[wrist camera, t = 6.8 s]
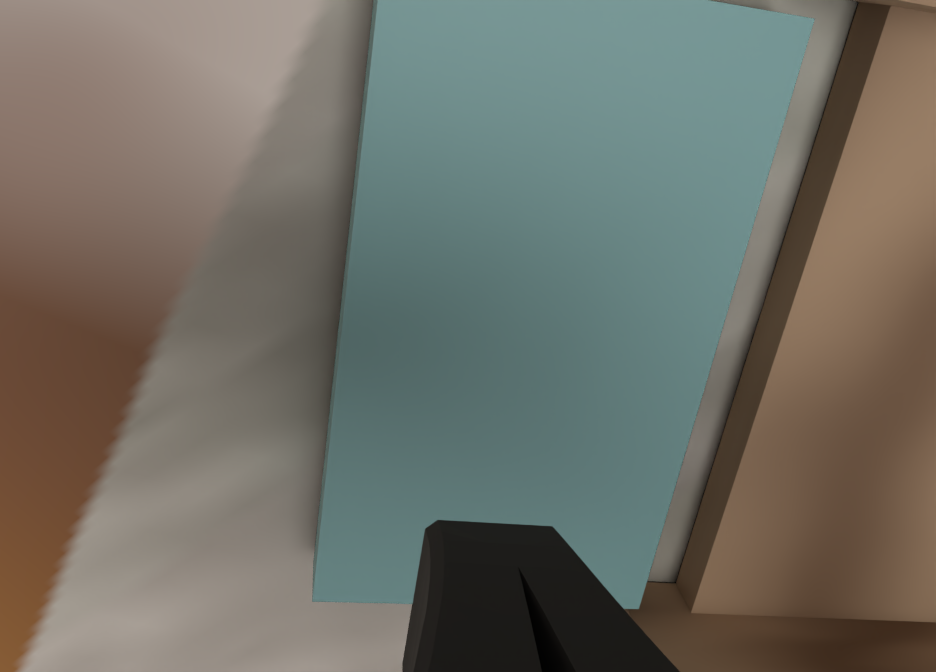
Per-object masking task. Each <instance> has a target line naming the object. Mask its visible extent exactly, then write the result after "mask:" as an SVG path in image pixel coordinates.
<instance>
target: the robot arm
mask: <svg viewBox="0 0 936 672" xmlns="http://www.w3.org/2000/svg"><path fill="white" fill-rule="evenodd" d="M403 672H680V671H679V670H678V669H677V668H676V667H675V666H674V665H673V663H672V662H671V661H670V660H669V659H668V658H667V657H666V656H665V655H664V654H663V653H662V651H661V650H660V649H659V648H658V647H657V646H656V645H655V644H654V643H653V641H652V640H651V639H650V638H649V637H648V636H647V635H646V634H645V633H644V631H643V630H642V629H641V628H640V627H639V626H638V625H637V624H636V622H635V621H634V620H633V619H632V618H631V617H630V616H629V614H628V613H627V612H626V611H625V610H624V609H623V608H622V606H621V605H620V604H619V603H618V602H617V601H616V599H615V598H614V597H613V596H612V595H611V594H610V592H609V591H608V590H607V589H606V588H605V587H604V586H603V584H602V583H601V582H600V581H599V580H598V578H597V577H596V576H595V575H594V574H593V573H592V571H591V570H590V569H589V568H588V567H587V566H586V564H585V563H584V562H583V561H582V560H581V558H580V557H579V556H578V555H577V554H576V553H575V551H574V550H573V549H572V548H571V547H570V546H569V544H568V543H567V542H566V541H565V540H564V539H563V537H562V536H561V535H560V534H559V533H558V532H557V531H556V530H555V528H554V527H553V526H539V525H521V524H504V523H486V522H468V521H450V520H437V521H435V522H434V523H432V524H431V525H430V526H428V527H427V528H425V532H424V538H423V544H422V550H421V556H420V562H419V568H418V574H417V580H416V586H415V592H414V598H413V604H412V610H411V616H410V622H409V628H408V634H407V640H406V646H405V652H404V658H403Z"/></svg>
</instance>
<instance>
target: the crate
mask: <svg viewBox="0 0 936 672" xmlns="http://www.w3.org/2000/svg"><path fill="white" fill-rule="evenodd" d="M851 1H857V2H859V3H858V7H857V10H856V13H855V16H854V19H853V22H852V26H851V29H850V32H849V35H848V38H847V41H846V45H845V48H844V51H843V54H842V57H841V61H840V64H839V67H838V70H837V73H836V76H835V80H834V83H833V86H832V89H831V92H830V95H829V99H828V102H827V105H826V108H825V111H824V115H823V118H822V121H821V124H820V127H819V130H818V134H817V137H816V140H815V143H814V146H813V149H812V153H811V156H810V159H809V162H808V165H807V168H806V172H805V175H804V178H803V181H802V184H801V188H800V191H799V194H798V197H797V200H796V203H795V207H794V210H793V213H792V216H791V219H790V222H789V226H788V229H787V232H786V235H785V238H784V242H783V245H782V248H781V251H780V254H779V257H778V261H777V264H776V267H775V270H774V273H773V276H772V280H771V283H770V286H769V289H768V292H767V296H766V299H765V302H764V305H763V308H762V311H761V315H760V318H759V321H758V324H757V327H756V330H755V334H754V337H753V340H752V343H751V346H750V349H749V353H748V356H747V359H746V362H745V365H744V369H743V372H742V375H741V378H740V381H739V384H738V388H737V391H736V394H735V397H734V400H733V403H732V407H731V410H730V413H729V416H728V419H727V423H726V426H725V429H724V432H723V435H722V438H721V442H720V445H719V448H718V451H717V454H716V457H715V461H714V464H713V467H712V470H711V473H710V477H709V480H708V483H707V486H706V489H705V492H704V496H703V499H702V502H701V505H700V508H699V511H698V515H697V518H696V521H695V524H694V527H693V531H692V534H691V537H690V540H689V543H688V546H687V550H686V553H685V556H684V559H683V562H682V565H681V569H680V572H679V575H678V578H677V581H676V583H654V582H647V583H646V587H645V590H644V593H643V597H642V600H641V603H640V607H639V609H624V610H625V611H626V612H627V613H628V614H629V616H630V617H631V618H632V619H633V620H634V621H635V622H636V624H637V625H638V626H639V627H640V628H641V629H642V630H643V631H644V633H645V634H646V635H647V636H648V637H649V638H650V639H651V640H652V641H653V643H654V644H655V645H656V646H657V647H658V648H659V649H660V650H661V651H662V653H663V654H664V655H665V656H666V657H667V658H668V659H669V660H670V661H671V662H672V663H673V665H674V666H675V667H676V668H677V669H678V670H679V671H680V672H936V0H851Z"/></svg>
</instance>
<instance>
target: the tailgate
mask: <svg viewBox="0 0 936 672" xmlns="http://www.w3.org/2000/svg"><path fill="white" fill-rule="evenodd" d="M814 20H815V19H814V18H808V17H802V16H796V15H791V14H785V13H779V12H773V11H768V10H762V9H756V8H750V7H744V6H739V5H733V4H727V3H721V2H716V1H710V0H374V1H373V10H372V20H371V29H370V38H369V48H368V57H367V66H366V76H365V85H364V94H363V104H362V113H361V122H360V132H359V141H358V151H357V160H356V169H355V179H354V188H353V197H352V207H351V216H350V225H349V235H348V244H347V253H346V263H345V272H344V281H343V291H342V300H341V309H340V319H339V328H338V337H337V347H336V356H335V365H334V375H333V384H332V393H331V403H330V412H329V421H328V431H327V440H326V449H325V459H324V468H323V477H322V487H321V496H320V505H319V515H318V524H317V533H316V543H315V552H314V561H313V596H312V602H354V603H397V604H413V598H414V592H415V586H416V580H417V574H418V568H419V562H420V556H421V550H422V544H423V538H424V532H425V528H427V527H428V526H430V525H431V524H432V523H434V522H435V521H437V520H450V521H468V522H486V523H504V524H521V525H539V526H553V527H554V528H555V530H556V531H557V532H558V533H559V534H560V535H561V536H562V537H563V539H564V540H565V541H566V542H567V543H568V544H569V546H570V547H571V548H572V549H573V550H574V551H575V553H576V554H577V555H578V556H579V557H580V558H581V560H582V561H583V562H584V563H585V564H586V566H587V567H588V568H589V569H590V570H591V571H592V573H593V574H594V575H595V576H596V577H597V578H598V580H599V581H600V582H601V583H602V584H603V586H604V587H605V588H606V589H607V590H608V591H609V592H610V594H611V595H612V596H613V597H614V598H615V599H616V601H617V602H618V603H619V604H620V605H621V606H622V608H623V609H639V607H640V603H641V600H642V597H643V593H644V590H645V587H646V583H647V580H648V577H649V573H650V570H651V567H652V563H653V560H654V556H655V553H656V550H657V546H658V543H659V540H660V536H661V533H662V530H663V526H664V523H665V520H666V516H667V513H668V510H669V506H670V503H671V499H672V496H673V493H674V489H675V486H676V483H677V479H678V476H679V473H680V469H681V466H682V463H683V459H684V456H685V453H686V449H687V446H688V442H689V439H690V436H691V432H692V429H693V426H694V422H695V419H696V416H697V412H698V409H699V406H700V402H701V399H702V396H703V392H704V389H705V385H706V382H707V379H708V375H709V372H710V369H711V365H712V362H713V359H714V355H715V352H716V349H717V345H718V342H719V338H720V335H721V332H722V328H723V325H724V322H725V318H726V315H727V312H728V308H729V305H730V302H731V298H732V295H733V292H734V288H735V285H736V281H737V278H738V275H739V271H740V268H741V265H742V261H743V258H744V255H745V251H746V248H747V245H748V241H749V238H750V235H751V231H752V228H753V224H754V221H755V218H756V214H757V211H758V208H759V204H760V201H761V198H762V194H763V191H764V188H765V184H766V181H767V178H768V174H769V171H770V167H771V164H772V161H773V157H774V154H775V151H776V147H777V144H778V141H779V137H780V134H781V131H782V127H783V124H784V120H785V117H786V114H787V110H788V107H789V104H790V100H791V97H792V94H793V90H794V87H795V84H796V80H797V77H798V74H799V70H800V67H801V63H802V60H803V57H804V53H805V50H806V47H807V43H808V40H809V37H810V33H811V30H812V27H813V23H814Z"/></svg>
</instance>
